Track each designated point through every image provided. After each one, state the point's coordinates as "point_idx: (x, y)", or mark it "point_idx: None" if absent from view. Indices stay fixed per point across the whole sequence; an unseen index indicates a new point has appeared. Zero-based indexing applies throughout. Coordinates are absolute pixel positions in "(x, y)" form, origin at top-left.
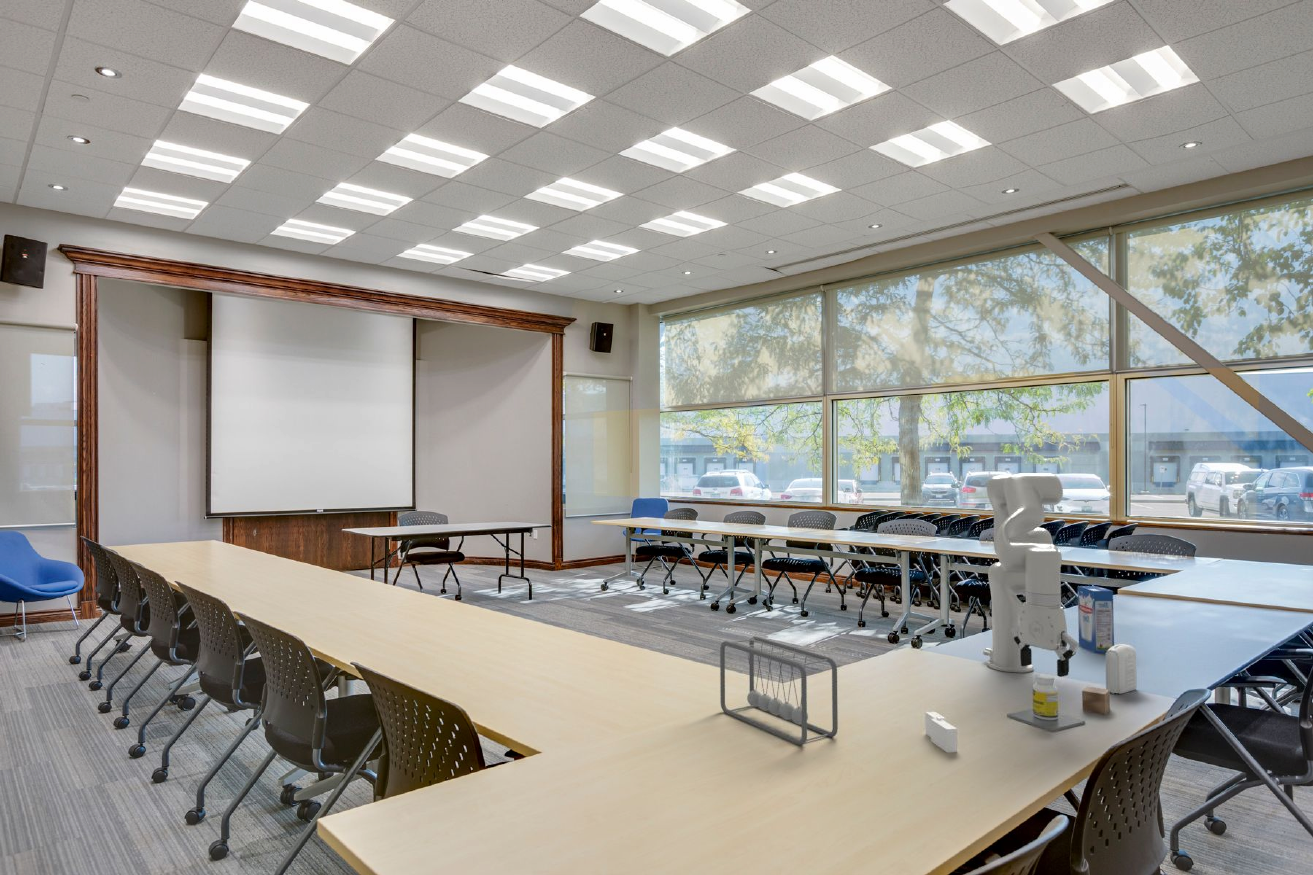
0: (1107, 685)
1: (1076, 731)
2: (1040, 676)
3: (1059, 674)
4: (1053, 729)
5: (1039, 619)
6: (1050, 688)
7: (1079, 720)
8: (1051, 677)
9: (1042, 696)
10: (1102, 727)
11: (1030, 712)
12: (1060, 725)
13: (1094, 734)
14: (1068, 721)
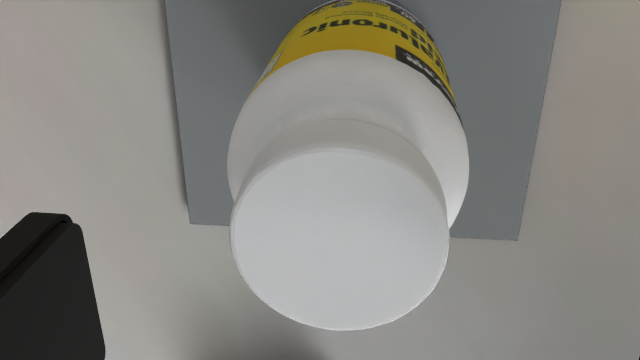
0: None
1: (104, 33)
2: (354, 186)
3: (23, 223)
4: None
5: None
6: (245, 142)
7: (210, 203)
8: (256, 258)
9: (304, 45)
10: (109, 230)
11: (488, 83)
12: (187, 2)
13: (25, 79)
14: (225, 129)
